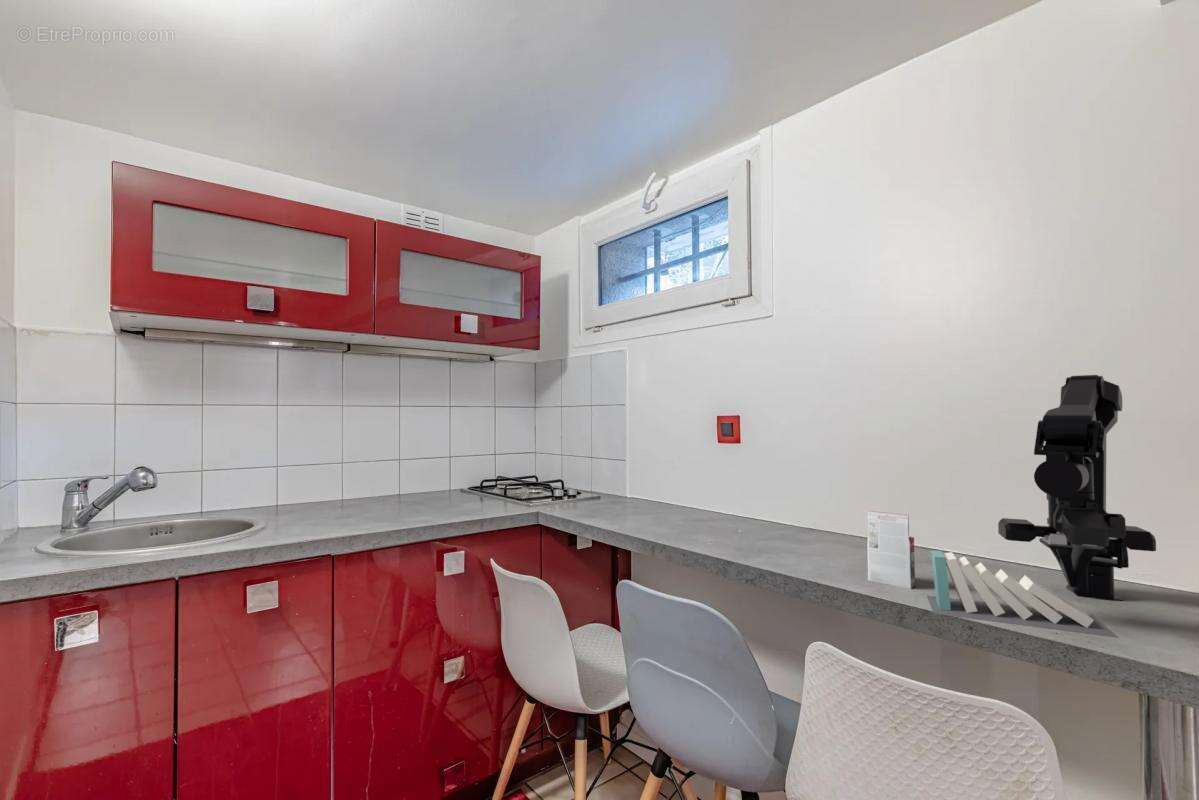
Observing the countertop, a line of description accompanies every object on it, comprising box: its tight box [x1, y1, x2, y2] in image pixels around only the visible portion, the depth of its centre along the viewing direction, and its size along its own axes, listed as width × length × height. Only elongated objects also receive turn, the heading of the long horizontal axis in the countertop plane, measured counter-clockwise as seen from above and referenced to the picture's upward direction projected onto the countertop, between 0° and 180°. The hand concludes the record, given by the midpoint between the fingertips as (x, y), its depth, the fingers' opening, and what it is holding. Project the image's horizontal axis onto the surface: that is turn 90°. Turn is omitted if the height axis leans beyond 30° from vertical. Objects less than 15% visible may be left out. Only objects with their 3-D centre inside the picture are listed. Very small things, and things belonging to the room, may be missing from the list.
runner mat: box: [926, 595, 1120, 639], centre depth 92 cm, size 10×24×1 cm, turn 65°
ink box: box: [866, 510, 916, 590], centre depth 109 cm, size 4×8×15 cm, turn 47°
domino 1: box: [930, 550, 951, 610], centre depth 96 cm, size 2×5×9 cm, turn 155°
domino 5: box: [993, 568, 1062, 624], centre depth 91 cm, size 2×5×9 cm
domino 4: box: [972, 562, 1033, 620], centre depth 93 cm, size 2×5×9 cm
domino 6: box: [1018, 574, 1094, 628], centre depth 90 cm, size 2×5×9 cm
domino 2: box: [943, 551, 977, 613], centre depth 95 cm, size 2×5×9 cm, turn 155°
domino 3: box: [956, 556, 1005, 617], centre depth 94 cm, size 2×5×9 cm
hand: (1072, 586), depth 89 cm, fingers closed
